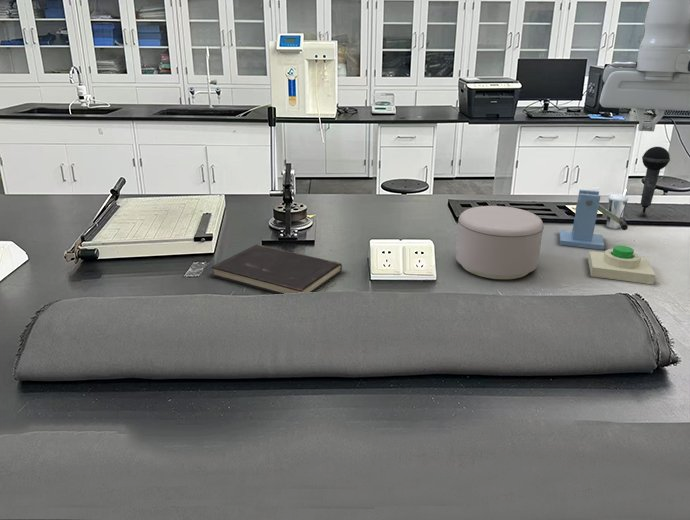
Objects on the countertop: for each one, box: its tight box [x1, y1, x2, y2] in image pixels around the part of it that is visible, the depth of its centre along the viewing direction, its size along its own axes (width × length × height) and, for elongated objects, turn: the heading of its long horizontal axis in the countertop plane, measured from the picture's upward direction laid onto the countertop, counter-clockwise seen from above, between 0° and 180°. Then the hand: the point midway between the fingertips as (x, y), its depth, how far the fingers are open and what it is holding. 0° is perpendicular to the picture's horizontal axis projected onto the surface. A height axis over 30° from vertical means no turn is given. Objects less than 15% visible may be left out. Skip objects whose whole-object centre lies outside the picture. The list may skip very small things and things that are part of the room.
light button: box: [612, 245, 635, 259], centre depth 115 cm, size 4×4×2 cm
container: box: [454, 205, 545, 280], centre depth 118 cm, size 18×18×12 cm
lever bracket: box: [558, 189, 605, 251], centre depth 132 cm, size 10×8×13 cm
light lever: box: [585, 192, 629, 231], centre depth 129 cm, size 12×6×2 cm
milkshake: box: [605, 189, 629, 229], centre depth 143 cm, size 4×5×10 cm
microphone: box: [640, 146, 671, 217], centre depth 150 cm, size 7×7×20 cm
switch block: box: [587, 248, 656, 285], centre depth 116 cm, size 12×10×4 cm
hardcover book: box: [210, 243, 343, 295], centre depth 115 cm, size 16×23×2 cm
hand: (645, 130), depth 114 cm, fingers closed
